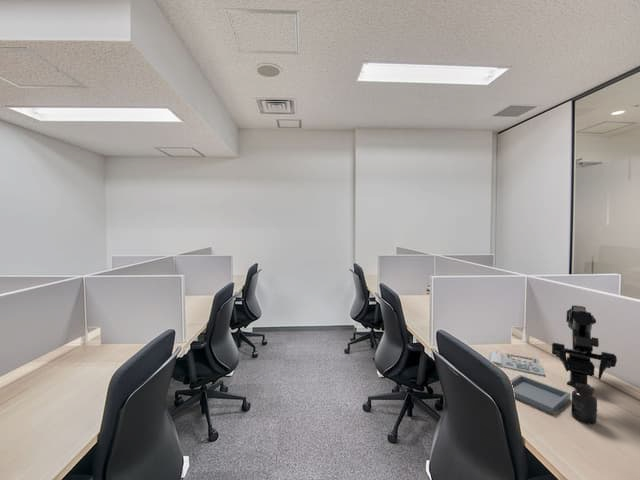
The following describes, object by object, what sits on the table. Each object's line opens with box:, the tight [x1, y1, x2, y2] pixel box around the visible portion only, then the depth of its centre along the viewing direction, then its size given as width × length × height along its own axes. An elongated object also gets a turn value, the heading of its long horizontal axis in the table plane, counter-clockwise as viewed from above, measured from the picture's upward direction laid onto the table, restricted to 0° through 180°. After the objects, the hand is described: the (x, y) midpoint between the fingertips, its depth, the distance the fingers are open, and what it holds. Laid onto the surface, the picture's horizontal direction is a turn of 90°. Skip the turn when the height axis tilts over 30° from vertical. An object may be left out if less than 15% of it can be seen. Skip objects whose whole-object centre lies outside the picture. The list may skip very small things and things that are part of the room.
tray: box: [510, 374, 571, 416], centre depth 118 cm, size 18×18×3 cm
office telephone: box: [488, 350, 546, 377], centre depth 149 cm, size 23×3×20 cm
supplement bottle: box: [570, 383, 598, 425], centre depth 104 cm, size 7×7×12 cm
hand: (583, 374), depth 109 cm, fingers open, 9 cm apart
